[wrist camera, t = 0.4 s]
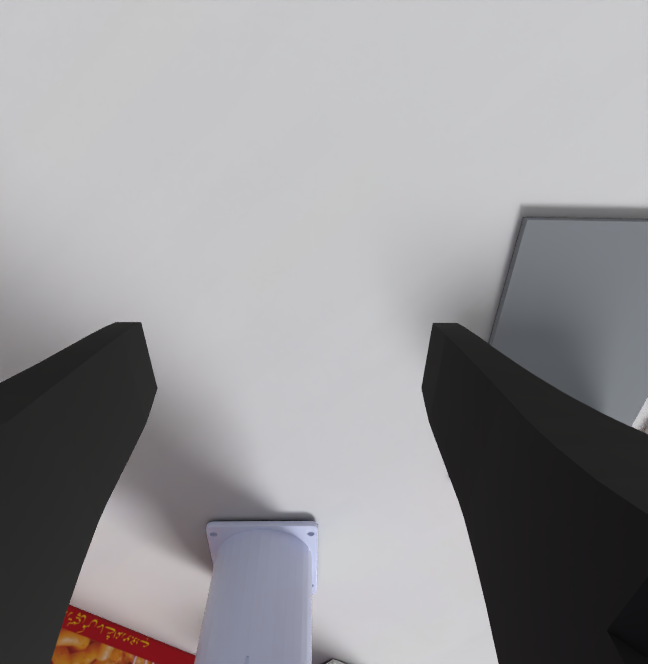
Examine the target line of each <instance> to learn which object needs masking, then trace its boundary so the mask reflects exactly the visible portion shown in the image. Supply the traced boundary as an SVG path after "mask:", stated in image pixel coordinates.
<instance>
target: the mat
mask: <svg viewBox="0 0 648 664" xmlns="http://www.w3.org/2000/svg"><path fill="white" fill-rule="evenodd" d="M489 344H490V345H491V346H492V347H494V348H495V349H497V350H498V351H500V352H501V353H502V354H504V355H505V356H507V357H508V358H510V359H511V360H513V361H514V362H516V363H517V364H519V365H520V366H522V367H523V368H525V369H526V370H528V371H529V372H531V373H532V374H534V375H536V376H537V377H539V378H540V379H542V380H544V381H545V382H547V383H549V384H550V385H552V386H554V387H555V388H557V389H559V390H560V391H562V392H564V393H565V394H567V395H569V396H571V397H573V398H574V399H576V400H578V401H580V402H582V403H584V404H586V405H588V406H590V407H592V408H594V409H596V410H597V411H599V412H601V413H603V414H605V415H607V416H609V417H611V418H613V419H615V420H618V421H620V422H622V423H624V424H626V425H628V426H630V427H631V426H632V424H633V422H634V421H635V419H636V417H637V415H638V413H639V412H640V410H641V408H642V406H643V405H644V403H645V401H646V399H647V397H648V219H599V218H540V217H523V221H522V225H521V228H520V232H519V236H518V239H517V243H516V246H515V250H514V254H513V257H512V261H511V265H510V268H509V272H508V276H507V279H506V283H505V286H504V290H503V294H502V297H501V301H500V305H499V308H498V312H497V316H496V319H495V323H494V326H493V330H492V334H491V337H490V341H489Z"/></svg>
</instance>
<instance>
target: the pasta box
mask: <svg viewBox="0 0 648 664" xmlns="http://www.w3.org/2000/svg"><path fill="white" fill-rule="evenodd" d="M195 657H196V656H195V655H192V654H190V653H187V652H185V651H182V650H180V649H177V648H175V647H173V646H170V645H168V644H165V643H163V642H160V641H158V640H155V639H153V638H150V637H148V636H145V635H143V634H140V633H138V632H136V631H133V630H131V629H128V628H126V627H123V626H121V625H118V624H116V623H113V622H111V621H108V620H106V619H103V618H101V617H99V616H96V615H94V614H91V613H89V612H86V611H84V610H81V609H79V608H76V607H74V606H71V605H69V606H68V609H67V612H66V615H65V618H64V621H63V624H62V628H61V631H60V634H59V637H58V640H57V644H56V647H55V650H54V653H53V657H52V660H51V663H50V664H194V662H195Z"/></svg>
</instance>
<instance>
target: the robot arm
mask: <svg viewBox="0 0 648 664" xmlns="http://www.w3.org/2000/svg"><path fill="white" fill-rule="evenodd" d="M156 391H157V385H156V381H155V377H154V373H153V369H152V365H151V361H150V357H149V353H148V348H147V344H146V340H145V336H144V332H143V328H142V324H141V322H115V323H113V324H111V325H108V326H106V327H104V328H102V329H100V330H98V331H96V332H94V333H92V334H90V335H89V336H87V337H85V338H83V339H81V340H79V341H78V342H76V343H74V344H72V345H71V346H69V347H67V348H65V349H63V350H61V351H60V352H58V353H56V354H54V355H52V356H51V357H49V358H47V359H45V360H43V361H42V362H40V363H38V364H36V365H34V366H32V367H30V368H28V369H26V370H24V371H22V372H21V373H19V374H17V375H15V376H13V377H11V378H9V379H7V380H5V381H3V382H1V383H0V664H50V663H51V660H52V657H53V653H54V650H55V647H56V644H57V640H58V637H59V634H60V631H61V628H62V624H63V621H64V618H65V615H66V612H67V609H68V606H69V603H70V600H71V597H72V594H73V591H74V588H75V585H76V582H77V579H78V576H79V573H80V571H81V568H82V565H83V562H84V559H85V557H86V554H87V551H88V549H89V546H90V543H91V540H92V538H93V535H94V532H95V530H96V527H97V524H98V522H99V520H100V517H101V515H102V513H103V511H104V508H105V506H106V504H107V502H108V500H109V498H110V496H111V494H112V492H113V490H114V488H115V486H116V484H117V482H118V480H119V478H120V476H121V474H122V472H123V470H124V468H125V466H126V464H127V462H128V460H129V458H130V456H131V454H132V451H133V449H134V447H135V445H136V443H137V441H138V439H139V437H140V435H141V433H142V431H143V429H144V427H145V424H146V422H147V419H148V416H149V413H150V410H151V407H152V404H153V401H154V398H155V394H156ZM422 392H423V397H424V402H425V407H426V411H427V415H428V420H429V423H430V426H431V429H432V432H433V434H434V437H435V440H436V442H437V445H438V448H439V451H440V453H441V456H442V458H443V461H444V464H445V466H446V469H447V472H448V474H449V477H450V480H451V482H452V485H453V488H454V490H455V493H456V496H457V498H458V501H459V504H460V507H461V510H462V513H463V516H464V520H465V523H466V527H467V531H468V535H469V539H470V542H471V546H472V550H473V554H474V558H475V562H476V566H477V570H478V574H479V578H480V582H481V587H482V591H483V595H484V599H485V603H486V608H487V612H488V617H489V621H490V626H491V631H492V635H493V640H494V644H495V649H496V654H497V658H498V663H499V664H648V434H646V433H644V432H642V431H640V430H637V429H635V428H633V427H630V426H628V425H626V424H624V423H622V422H620V421H618V420H615V419H613V418H611V417H609V416H607V415H605V414H603V413H601V412H599V411H597V410H596V409H594V408H592V407H590V406H588V405H586V404H584V403H582V402H580V401H578V400H576V399H574V398H573V397H571V396H569V395H567V394H565V393H564V392H562V391H560V390H559V389H557V388H555V387H554V386H552V385H550V384H549V383H547V382H545V381H544V380H542V379H540V378H539V377H537V376H536V375H534V374H532V373H531V372H529V371H528V370H526V369H525V368H523V367H522V366H520V365H519V364H517V363H516V362H514V361H513V360H511V359H510V358H508V357H507V356H505V355H504V354H502V353H501V352H500V351H498V350H497V349H495V348H494V347H492V346H491V345H490V344H488V343H487V342H485V341H484V340H482V339H481V338H480V337H478V336H477V335H475V334H474V333H472V332H471V331H469V330H468V329H466V328H465V327H463V326H461V325H460V324H458V323H433V325H432V331H431V337H430V342H429V348H428V354H427V359H426V365H425V371H424V377H423V382H422ZM206 533H207V538H208V543H209V547H210V552H211V557H212V562H213V567H214V569H213V574H212V579H211V584H210V588H209V593H208V598H207V603H206V608H205V613H204V618H203V623H202V628H201V633H200V637H199V642H198V647H197V652H196V657H195V662H194V664H312V595H313V594H315V593H316V586H317V546H318V524H317V523H316V522H314V521H215V522H209V523H208V524H207V526H206Z"/></svg>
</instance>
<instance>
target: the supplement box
mask: <svg viewBox="0 0 648 664" xmlns="http://www.w3.org/2000/svg"><path fill="white" fill-rule="evenodd" d="M326 664H345V663H342V662H340V661H338V660H335V659H332V660H331V661H330V662H328V663H326Z"/></svg>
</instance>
